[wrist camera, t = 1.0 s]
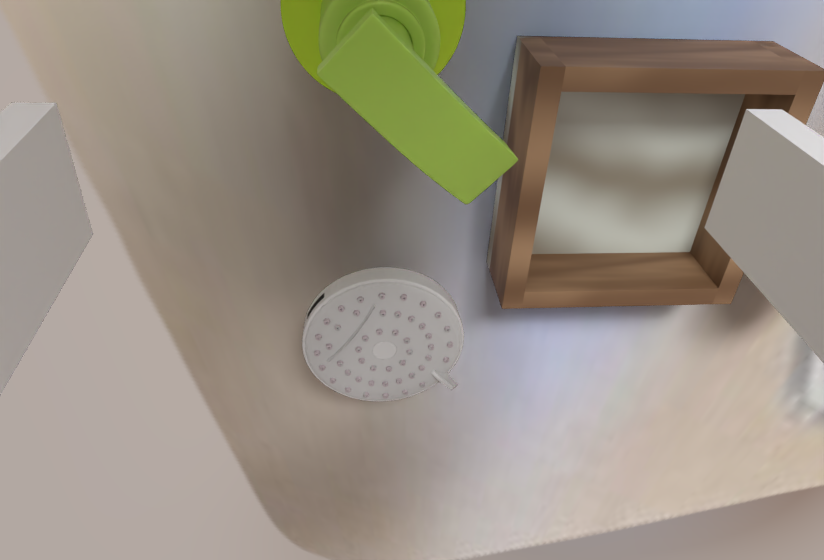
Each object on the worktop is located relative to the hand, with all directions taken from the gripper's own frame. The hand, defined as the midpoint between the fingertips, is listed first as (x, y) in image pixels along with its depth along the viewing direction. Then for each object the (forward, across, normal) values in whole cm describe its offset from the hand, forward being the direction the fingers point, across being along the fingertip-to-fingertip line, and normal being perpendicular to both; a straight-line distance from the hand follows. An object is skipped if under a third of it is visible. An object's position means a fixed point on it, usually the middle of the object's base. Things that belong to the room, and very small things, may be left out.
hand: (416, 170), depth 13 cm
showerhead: (+24, +1, -20) cm, 31 cm away
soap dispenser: (+23, 0, 0) cm, 23 cm away
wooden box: (+23, +15, -11) cm, 30 cm away
